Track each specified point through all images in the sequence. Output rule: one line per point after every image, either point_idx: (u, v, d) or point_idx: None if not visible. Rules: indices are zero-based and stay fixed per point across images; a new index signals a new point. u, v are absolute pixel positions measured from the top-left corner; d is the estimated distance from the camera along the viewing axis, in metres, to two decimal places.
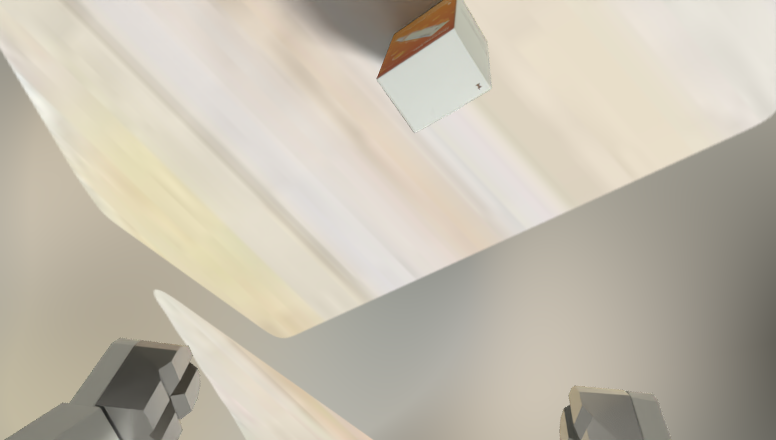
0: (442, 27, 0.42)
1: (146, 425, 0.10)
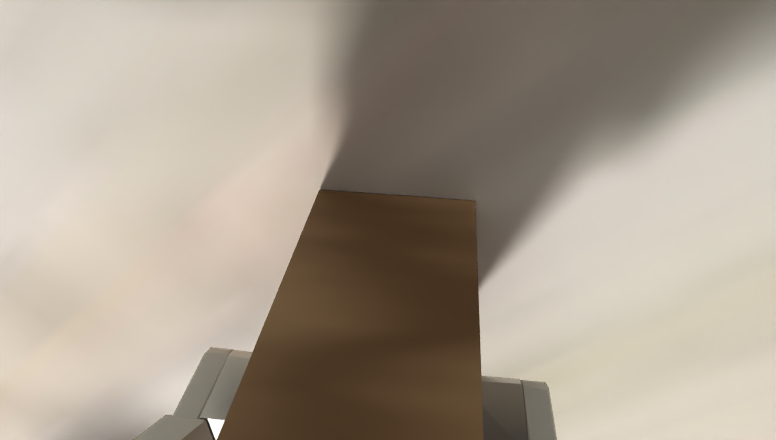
0: None
1: None
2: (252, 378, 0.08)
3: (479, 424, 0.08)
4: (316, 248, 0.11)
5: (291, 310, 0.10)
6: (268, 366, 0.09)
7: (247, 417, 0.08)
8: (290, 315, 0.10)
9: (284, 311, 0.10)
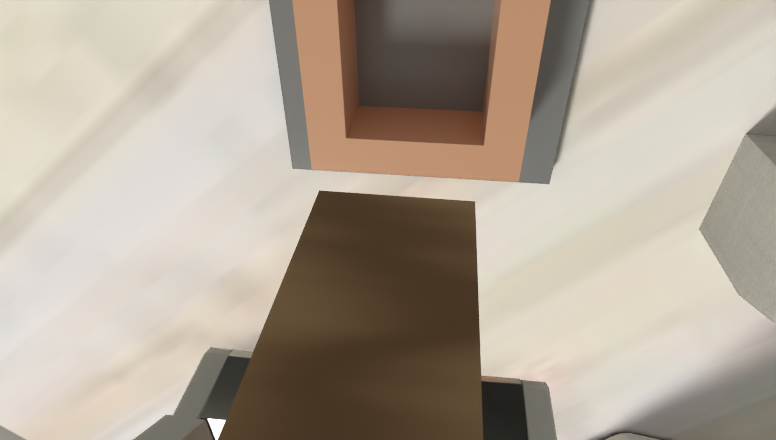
0: None
1: None
2: (253, 378, 0.08)
3: (479, 424, 0.08)
4: (316, 249, 0.11)
5: (291, 310, 0.10)
6: (269, 366, 0.09)
7: (248, 417, 0.08)
8: (290, 315, 0.10)
9: (284, 311, 0.10)
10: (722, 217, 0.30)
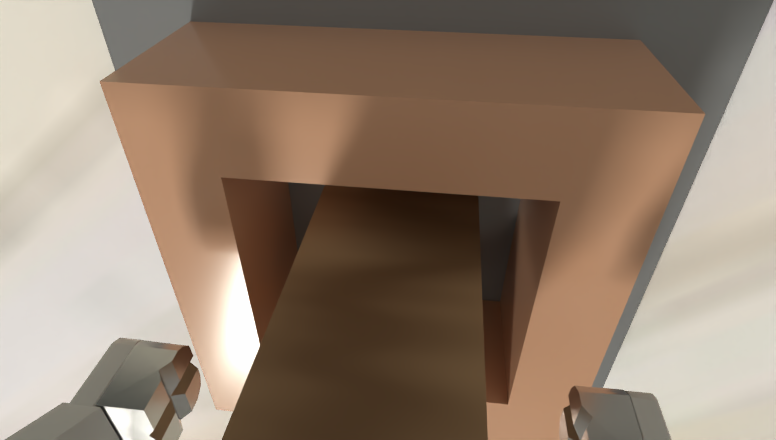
0: None
1: (146, 425, 0.10)
2: (289, 295, 0.10)
3: (480, 328, 0.09)
4: (337, 199, 0.13)
5: (318, 246, 0.11)
6: (301, 287, 0.10)
7: (286, 323, 0.09)
8: (318, 249, 0.11)
9: (312, 246, 0.11)
10: None
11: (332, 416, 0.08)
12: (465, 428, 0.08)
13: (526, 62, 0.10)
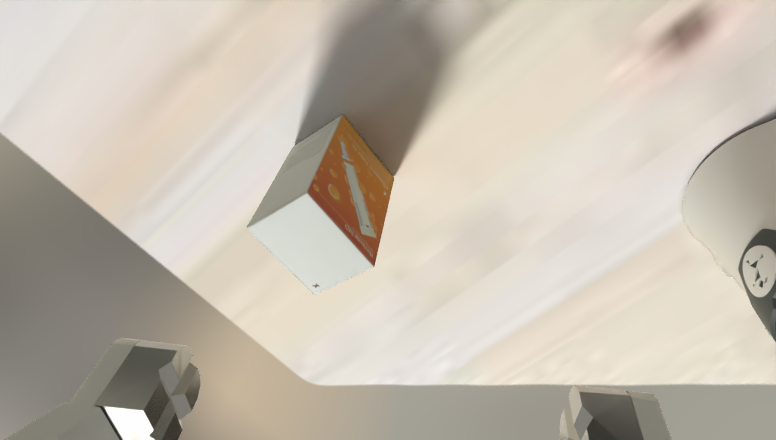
0: (370, 239, 0.39)
1: (146, 425, 0.10)
2: None
3: None
4: None
5: None
6: None
7: None
8: None
9: None
10: None
11: None
12: None
13: None
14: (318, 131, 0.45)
